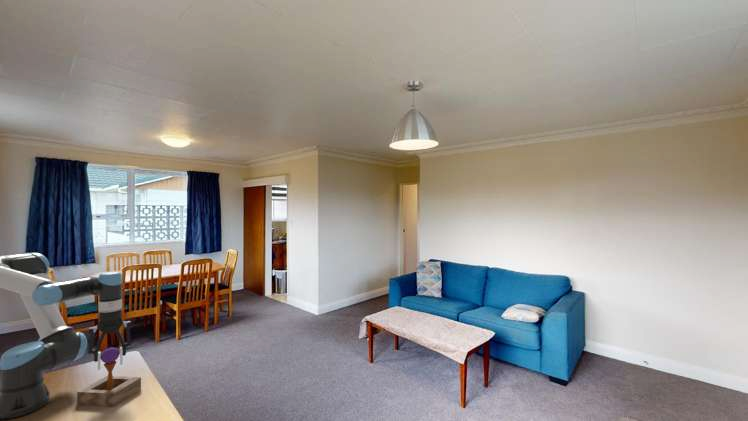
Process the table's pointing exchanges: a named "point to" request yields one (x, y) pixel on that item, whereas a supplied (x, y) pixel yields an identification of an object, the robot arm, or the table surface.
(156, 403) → the table surface
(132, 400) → the table surface
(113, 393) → the socket block
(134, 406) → the table surface
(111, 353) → the kendama
